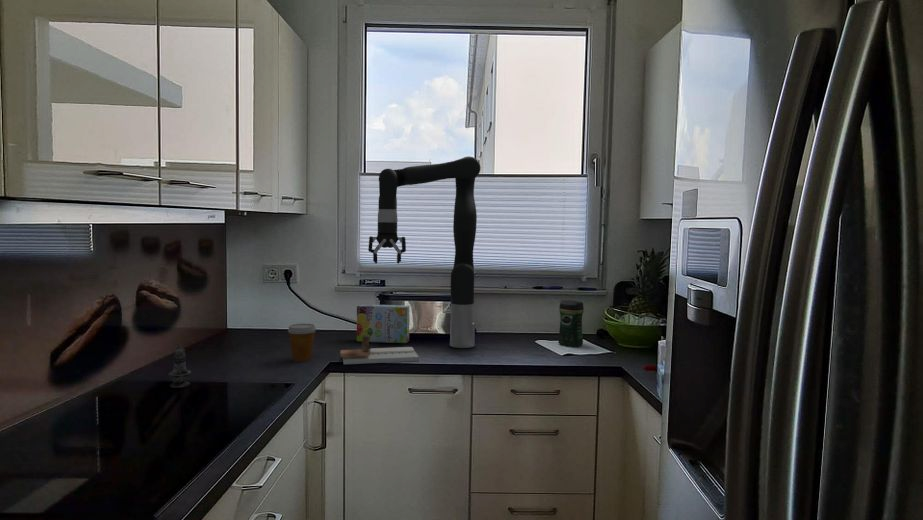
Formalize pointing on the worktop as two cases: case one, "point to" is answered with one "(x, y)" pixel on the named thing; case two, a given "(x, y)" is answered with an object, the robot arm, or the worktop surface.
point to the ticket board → (384, 356)
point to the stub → (361, 352)
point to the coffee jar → (571, 323)
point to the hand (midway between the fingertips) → (387, 263)
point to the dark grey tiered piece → (179, 369)
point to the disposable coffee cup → (301, 341)
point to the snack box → (383, 323)
